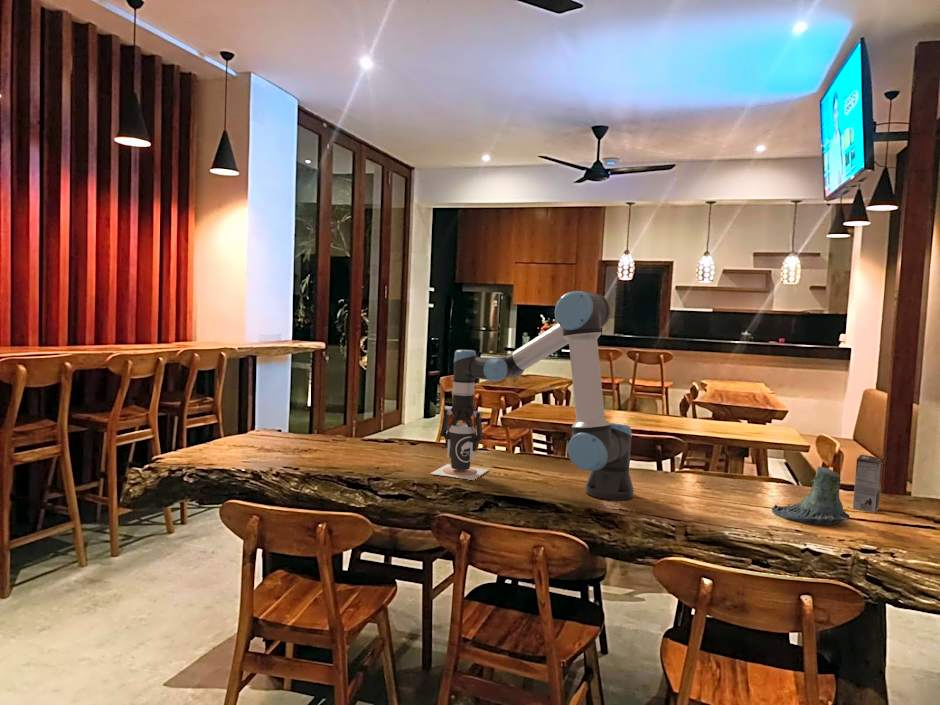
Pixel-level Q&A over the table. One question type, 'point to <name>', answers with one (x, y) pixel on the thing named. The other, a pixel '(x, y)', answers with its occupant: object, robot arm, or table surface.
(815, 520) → the tree stump
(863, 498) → the coffee box
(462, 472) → the coaster mat
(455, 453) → the coffee cup
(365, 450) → the table surface
